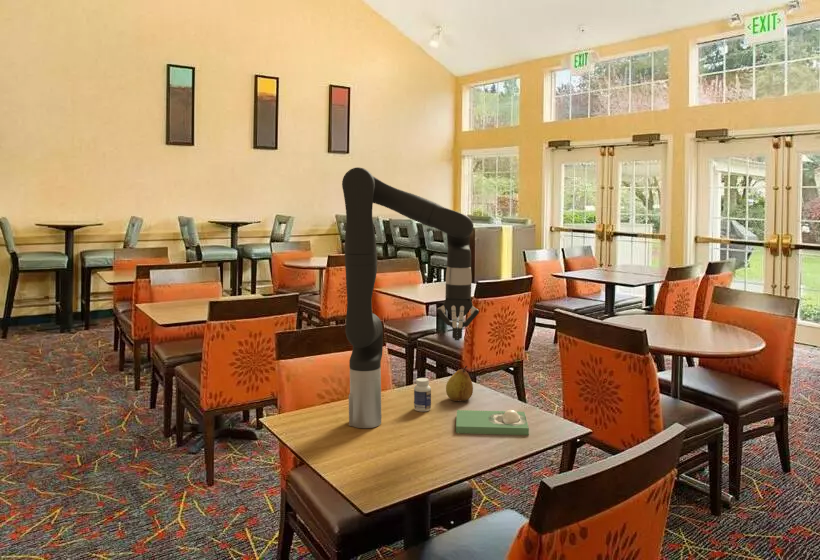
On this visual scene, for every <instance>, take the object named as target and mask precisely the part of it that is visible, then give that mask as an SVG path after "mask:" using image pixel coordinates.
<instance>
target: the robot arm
mask: <svg viewBox="0 0 820 560" xmlns="http://www.w3.org/2000/svg"><path fill="white" fill-rule="evenodd" d="M341 182H342V183H341V188H342V191H343V200H344V203H345V204H344V205H345V207H344V208H345V217H346V218H345V219H346V220H345V221H346V224H345V233H344V234H345V235H344V268H345V285H346V287H345V288H346V289H345V290H346V315H345V328H344V329H345V337H346V339H347V341H348V342H349V344H350V345H352V350H351V351H352V352H351V354H350V357H349V361H348V363H349V365H348V366H349V394H348V425H349V427H353V428H357V429H372V428H377V427H378V426H380V425H381V424H382V374H381V373H382V371H381V369H382V368H381V367H382V365H381V364H382V363H381V362H382V357H383V347H384V345H383V344H384V343H383V342H384V330H383V328H384V327H383V322H382V321H381V319H380V318H379V316H377V315H376V314H375V313H374V312H373V309H372V308H373V305H372V303H373V301H372V299H373V291H374V289H375V283H376V279H377V273H378V272H377V271H378V253H377V252H378V251H377V249H378V247H377V240H376V239H377V238H376V232H375V229H374V228H375V227H374V226H375V225H374V221H373V220H374V219H373V204H375V205H378V206H381V207H385V208H387V209H389V210H391V211H394V212H395V213H398V214H400V215H402V216H404V217H406V218H408V219H410V220H412V221H414V222H417V223H419V224H421V225H425V226H427V227H430V228H433V229H436V230H439V231H441V232H443V233H445V234H446V239H447V241H446V242H447V254H446V272H445V297H444V298H445V300H444V301H443V305H441V306H439V307H438V308H437V309H436V312H437V314H438V315H439V317H440V318H441V319H442V321H443V322H444V323H445V325H446V326H448V327H451V328H452V339H454V341H460V339H461V340H462V337H463V328H465V327H468V326H470V324H471V323H472V322H473V321H474V319H475V318H476V317H477V316H478V315H479V313H480V310H479V309H478V308H476V307H475V306H474V305H473V302H472V280H473V279H472V250H471V248H470V241H471V240H470V236H471V234H472V233H473V230H474V223H473V219H471V218H470V216H468V215H466V214H464V213H462V212H459V211H456V210H453V209H450V208H447V207H445V206H442V205H441V204H439V203H437V202H434V201H433V200H429V199H427V198H425V197H423V196H420V195H417V194H414V193H411V192H408V191H404V190H402V189H399V188H396V187H394V186H391V185H389V184H387V183H385V182H383V181H381V180H380V179H378V178H377V177H375V176H374V175H373V174H372V173H371V172H370V171H369V170H368V169H365V168H363V167H353V168H351V169H349V170H348V171H346V173H345V174H344V176H342V181H341ZM446 312H448V313H449V315H450V317H451V320H450V318H449V317H448V315H447V314H446ZM469 312H470V315H469V316H468V317H467V319H466V320H465V321H464V317H465V316H466V315H467V314H468V313H469ZM457 317H458V320H457ZM457 322H458V323H457Z"/></svg>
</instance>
